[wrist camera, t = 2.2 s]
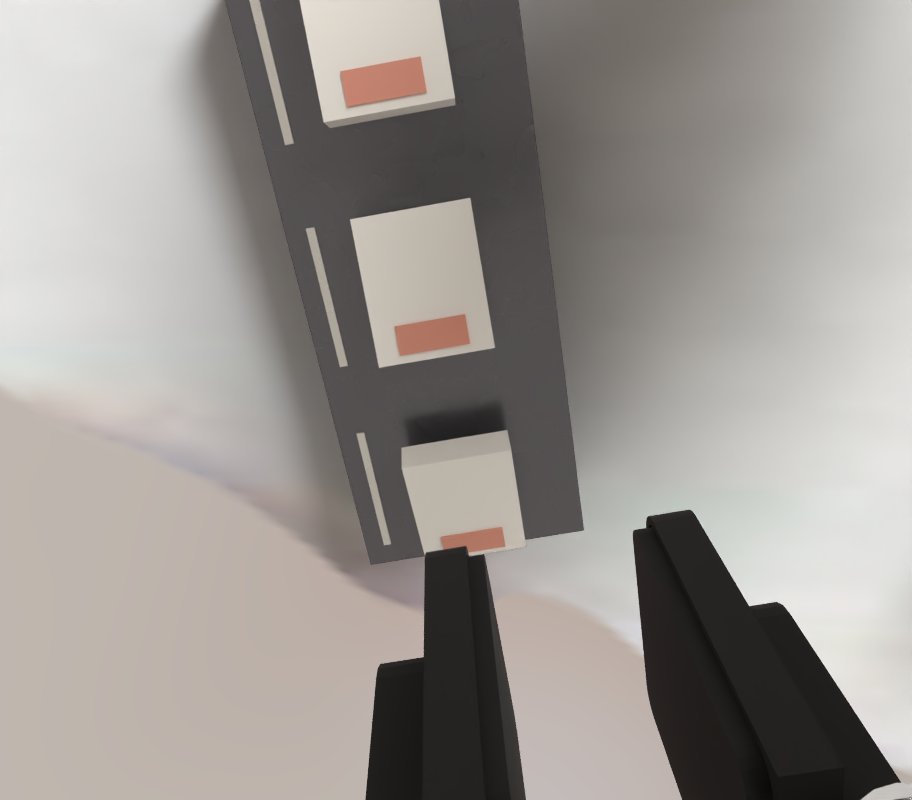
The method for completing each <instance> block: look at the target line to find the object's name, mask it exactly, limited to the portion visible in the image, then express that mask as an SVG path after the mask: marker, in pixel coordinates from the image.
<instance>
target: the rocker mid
mask: <svg viewBox="0 0 912 800" xmlns="http://www.w3.org/2000/svg"><path fill="white" fill-rule="evenodd" d="M350 222H351V227H352V232H353V237H354V243H355V248H356V253H357V258H358V263H359V268H360V273H361V278H362V284H363V289H364V294H365V299H366V304H367V309H368V314H369V319H370V324H371V330H372V335H373V340H374V345H375V350H376V355H377V360H378V365H379V368H381V367H387V366H393V365H399V364H404V363H410V362H416V361H422V360H428V359H434V358H439V357H445V356H451V355H457V354H463V353H469V352H474V351H480V350H486V349H492V348H495V345H494V339H493V333H492V327H491V321H490V315H489V309H488V303H487V297H486V290H485V284H484V278H483V272H482V266H481V260H480V254H479V248H478V242H477V236H476V230H475V224H474V218H473V212H472V206H471V199H470V198H466V199H461V200H455V201H449V202H444V203H438V204H433V205H427V206H422V207H416V208H410V209H405V210H399V211H394V212H388V213H383V214H377V215H371V216H366V217H360V218H355V219H350Z"/></svg>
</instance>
